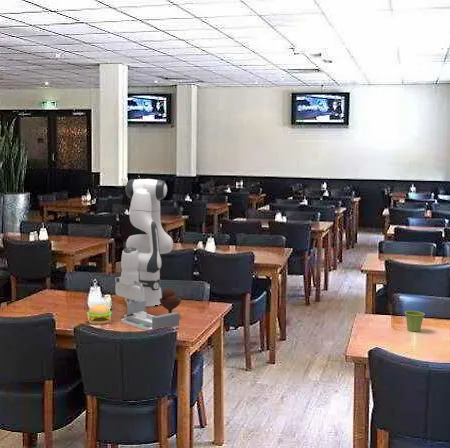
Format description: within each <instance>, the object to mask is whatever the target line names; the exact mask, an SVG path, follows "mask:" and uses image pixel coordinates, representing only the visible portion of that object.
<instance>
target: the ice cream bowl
mask: <svg viewBox="0 0 450 448" xmlns="http://www.w3.org/2000/svg"><path fill="white" fill-rule="evenodd" d="M161 293H162V298H160V303H161V305H162V306H163V308H165V309H167V310H168V313H167V314H169V313H173V310H175V309H176V308H177V307H178V306H179V305H180V304H181V302H182V299H181V298H180V297H178V294H177V293H176V292H175V291H174V290H173V289H172V288H166V289H164V290H163V291H162V292H161ZM161 305H160V306H161Z"/></svg>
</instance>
